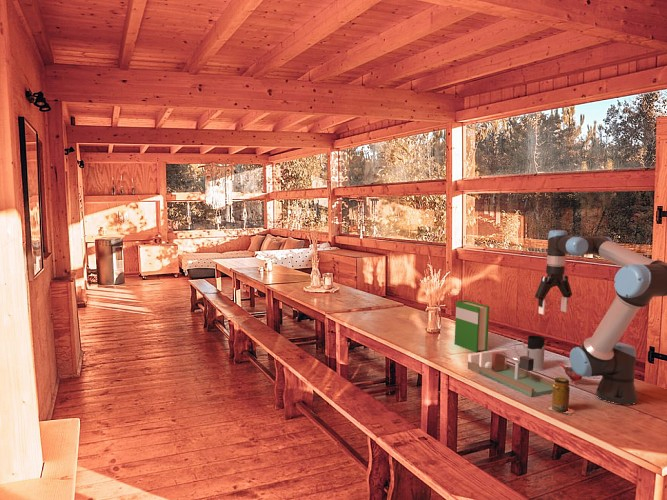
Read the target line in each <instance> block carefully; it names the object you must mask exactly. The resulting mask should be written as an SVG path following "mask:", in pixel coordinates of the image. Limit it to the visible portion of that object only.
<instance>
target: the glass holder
mask: <svg viewBox="0 0 667 500" xmlns="http://www.w3.org/2000/svg"><path fill="white" fill-rule="evenodd" d="M545 340H546V338H545V337H544V336H539V335H528V336H527V347H525V342H524V340H523V339H522V338H517V339H515V341H514V346H513V347H514V350H515V353H516V355H518V356H519V358H520V357H521V356H522V355H520V354H519V352H518V351H517V348H516V342H517V341H522V344H523V345H522V346H523V348H524V349H526V356H527V357H530V358H532V359H534V365H533V370H532V371H534V372H543V371H544V370H545V367H544V364H545V348H546V341H545Z"/></svg>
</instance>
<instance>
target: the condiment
mask: <svg viewBox="0 0 667 500" xmlns="http://www.w3.org/2000/svg"><path fill="white" fill-rule="evenodd" d="M553 382H554V385H553V393H551V395H552V396H551V397H552V398H551V406H550V407H548V408H547V410H550V411H554V412H557V413H561V414H565V415H569V416H571V414H569V413H562V412H566V411H568V408H570V407H569V406H570V405H569V404H570V390H571V389H570V388H571V387H570V380H569V379H568V378H565V377H558V376H557V377H555V378H554V380H553Z"/></svg>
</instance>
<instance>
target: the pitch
mask: <svg viewBox="0 0 667 500" xmlns="http://www.w3.org/2000/svg"><path fill="white" fill-rule="evenodd" d="M497 352H504V353H505V354H508V349H506V348H503V349H497V350H495V349H494V350H489V351H488V350H487V351H482V352H481V351H480V352H477V353H476V352H474V353H468V354H467V369H468V370H470V371H472V372H475V373H476V374H479V375H480V376H481V375H482V376H484V377H486V378H488V379H491V380H492V381H495V382H497V383H499V384H500V385H501V384H502V385H503V386H506V387H508V388H509V389H512V390H515V391H517V392H519V393H522V394H524V395H526V396H528V397H531V398H533V397H538V396H543V395H544V396H545V395H550V394H553V385H554V380H553V381H552V380H550V379H548V378H546V377H542V376H540V375H538V374H535V373H533V372H531V371H526V370H524V369H521V368H519V365H520V363H519V362H516V361H515V363H514V364H515V365H512V364H510V363H507V359H508V358H506V357H505V370H500V371H492V370H491V369H487V368H485V364H486V363H487V362H491V363H492V353H497Z"/></svg>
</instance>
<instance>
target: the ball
mask: <svg viewBox="0 0 667 500" xmlns="http://www.w3.org/2000/svg"><path fill="white" fill-rule="evenodd" d="M485 368H487V369H492V363H491V362H487V363H486V364H485Z"/></svg>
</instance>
